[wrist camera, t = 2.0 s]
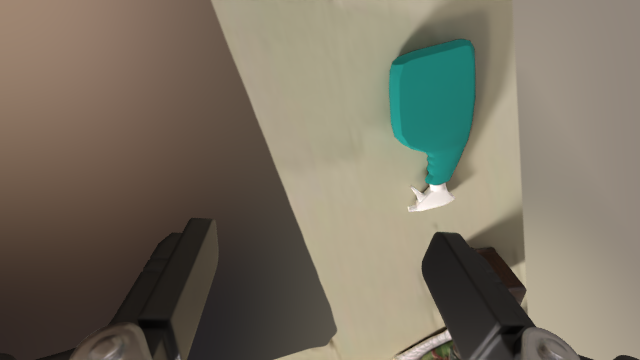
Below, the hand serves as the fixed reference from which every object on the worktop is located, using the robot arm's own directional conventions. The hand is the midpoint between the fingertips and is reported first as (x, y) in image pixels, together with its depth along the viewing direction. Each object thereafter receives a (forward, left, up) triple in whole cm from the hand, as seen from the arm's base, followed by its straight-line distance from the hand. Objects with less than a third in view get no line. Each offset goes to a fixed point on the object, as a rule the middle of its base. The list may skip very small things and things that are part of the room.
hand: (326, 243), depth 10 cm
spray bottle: (-19, 0, -29) cm, 35 cm away
